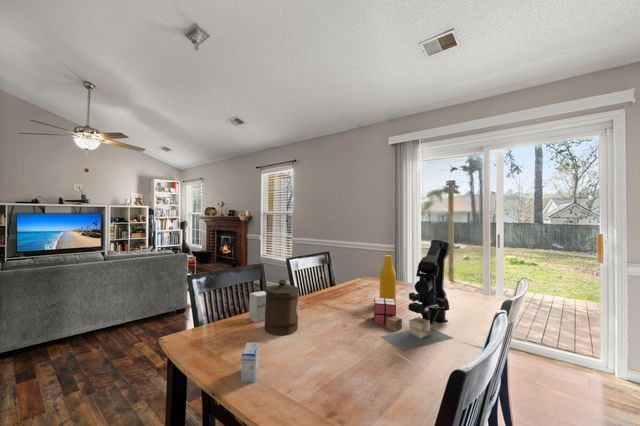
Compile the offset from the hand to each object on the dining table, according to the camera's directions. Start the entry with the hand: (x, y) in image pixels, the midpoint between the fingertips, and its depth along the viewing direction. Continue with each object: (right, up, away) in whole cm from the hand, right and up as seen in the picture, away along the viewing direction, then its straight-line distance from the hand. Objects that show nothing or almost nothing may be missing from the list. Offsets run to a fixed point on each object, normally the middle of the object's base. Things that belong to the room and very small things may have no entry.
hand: (428, 324), depth 123 cm
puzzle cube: (-16, -5, +14) cm, 22 cm away
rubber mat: (-7, -4, -4) cm, 9 cm away
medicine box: (-70, -3, -34) cm, 78 cm away
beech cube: (-5, -3, -2) cm, 6 cm away
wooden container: (-65, -3, +3) cm, 66 cm away
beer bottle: (-9, -5, +39) cm, 41 cm away
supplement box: (-78, -3, +15) cm, 79 cm away
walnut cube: (-14, -4, +5) cm, 15 cm away
